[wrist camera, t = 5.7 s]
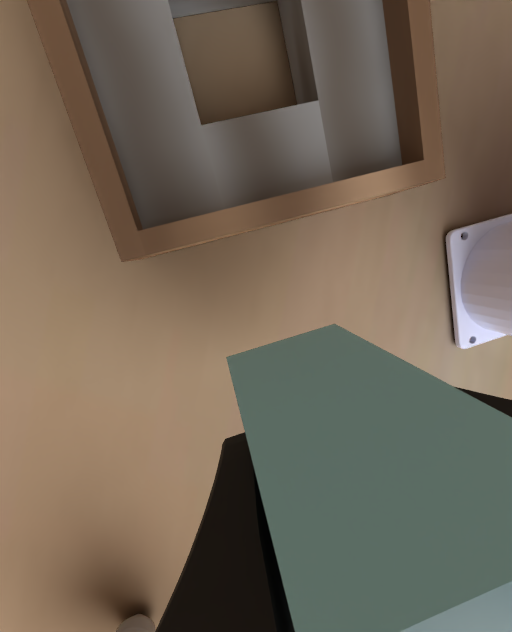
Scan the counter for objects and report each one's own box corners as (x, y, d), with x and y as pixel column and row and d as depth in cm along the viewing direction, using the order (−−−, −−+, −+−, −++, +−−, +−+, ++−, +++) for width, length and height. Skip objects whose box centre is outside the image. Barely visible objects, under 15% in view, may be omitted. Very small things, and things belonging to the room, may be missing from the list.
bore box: (349, -136, 14) (404, -280, 10) (392, 194, 18) (445, 178, 14) (17, -98, 12) (-66, -255, 9) (140, 259, 16) (121, 261, 12)
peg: (334, 323, 11) (678, 505, 3) (353, 419, 12) (650, 743, 4) (226, 357, 10) (305, 674, 3) (255, 454, 11) (376, 897, 4)
